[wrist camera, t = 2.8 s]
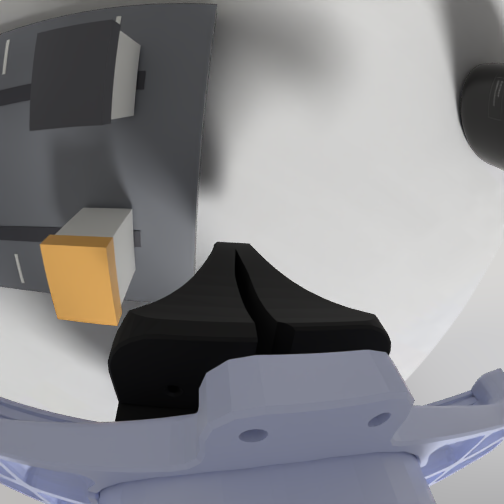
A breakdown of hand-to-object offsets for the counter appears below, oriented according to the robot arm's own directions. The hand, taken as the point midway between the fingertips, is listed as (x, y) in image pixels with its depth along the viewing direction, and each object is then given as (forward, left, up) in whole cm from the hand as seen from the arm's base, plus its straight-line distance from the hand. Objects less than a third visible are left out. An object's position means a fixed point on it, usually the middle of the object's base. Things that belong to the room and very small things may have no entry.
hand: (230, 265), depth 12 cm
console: (+3, +12, -4) cm, 13 cm away
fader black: (+7, +6, -2) cm, 9 cm away
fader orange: (0, +6, -2) cm, 6 cm away
